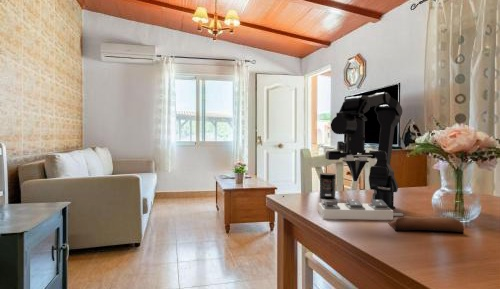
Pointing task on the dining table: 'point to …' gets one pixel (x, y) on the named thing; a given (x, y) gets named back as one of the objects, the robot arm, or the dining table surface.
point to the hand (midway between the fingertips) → (355, 181)
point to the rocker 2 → (379, 203)
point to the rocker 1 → (330, 203)
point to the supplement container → (327, 185)
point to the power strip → (355, 212)
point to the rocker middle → (354, 203)
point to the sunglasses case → (427, 224)
